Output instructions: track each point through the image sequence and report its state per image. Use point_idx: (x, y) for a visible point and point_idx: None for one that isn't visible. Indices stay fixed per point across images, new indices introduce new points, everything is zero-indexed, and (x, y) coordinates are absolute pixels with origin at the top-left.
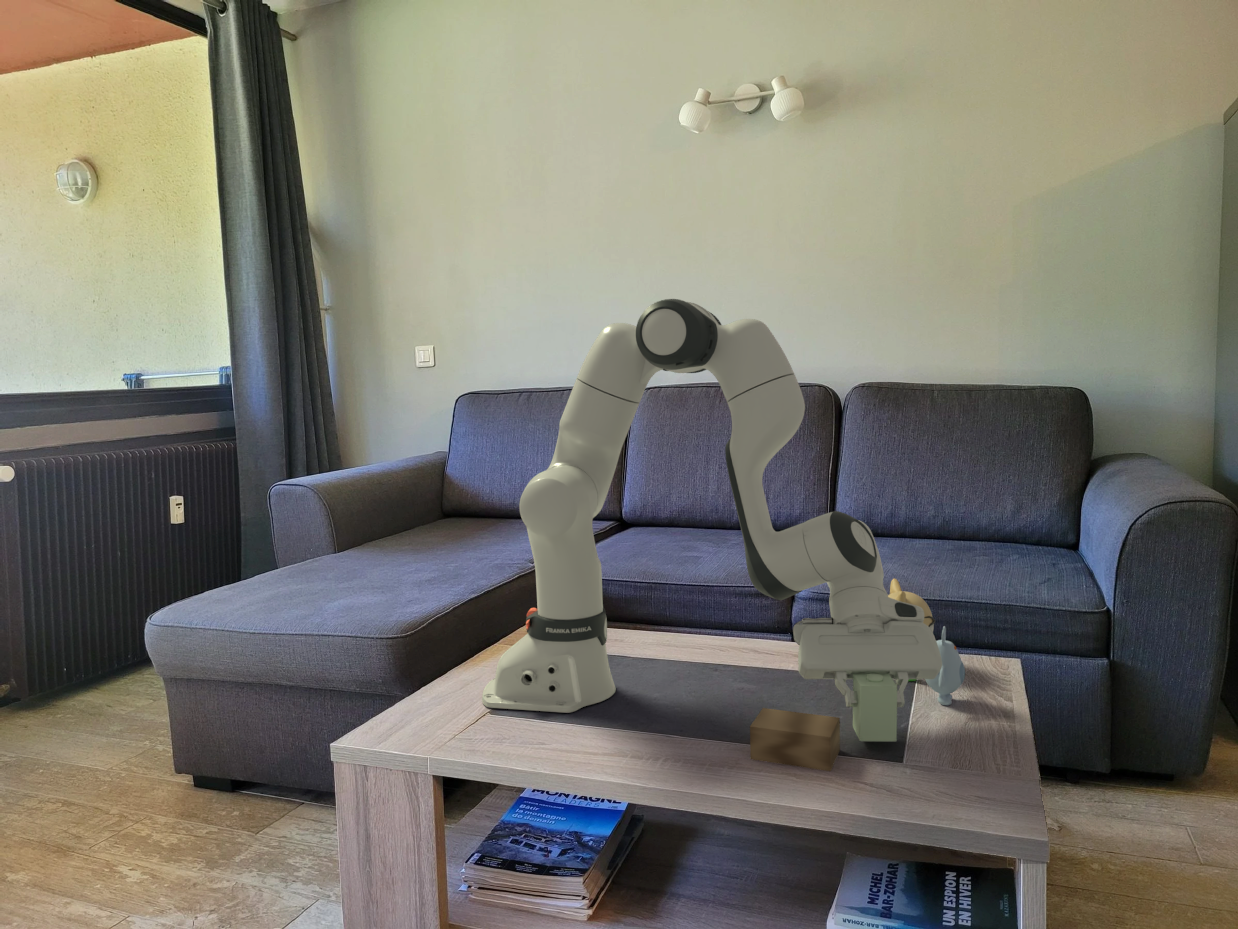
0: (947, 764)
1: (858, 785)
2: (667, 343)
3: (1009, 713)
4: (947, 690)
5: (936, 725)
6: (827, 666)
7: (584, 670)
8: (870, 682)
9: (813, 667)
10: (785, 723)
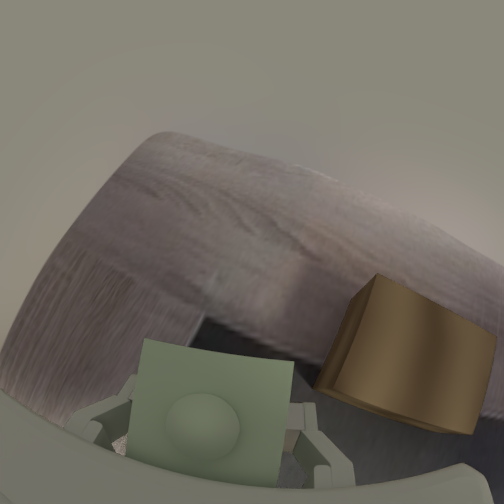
0: (132, 293)
1: (316, 245)
2: None
3: None
4: None
5: None
6: (403, 487)
7: None
8: (236, 396)
9: (450, 470)
10: (451, 353)
